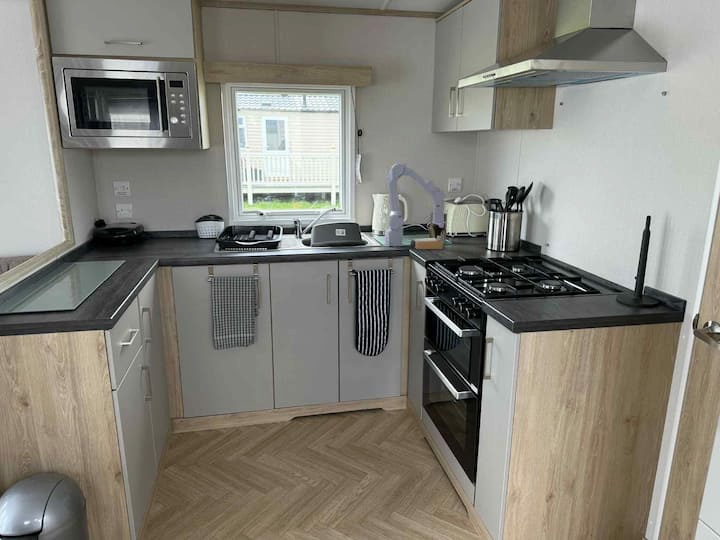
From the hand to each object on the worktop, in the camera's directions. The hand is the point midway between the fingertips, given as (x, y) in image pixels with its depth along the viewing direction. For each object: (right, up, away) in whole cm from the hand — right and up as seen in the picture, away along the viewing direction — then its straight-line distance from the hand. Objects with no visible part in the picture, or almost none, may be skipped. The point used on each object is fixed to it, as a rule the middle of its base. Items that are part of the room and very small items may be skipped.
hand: (437, 238), depth 271 cm
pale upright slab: (-6, -4, +4) cm, 8 cm away
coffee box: (+3, -1, +19) cm, 20 cm away
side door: (-4, -5, -1) cm, 7 cm away
